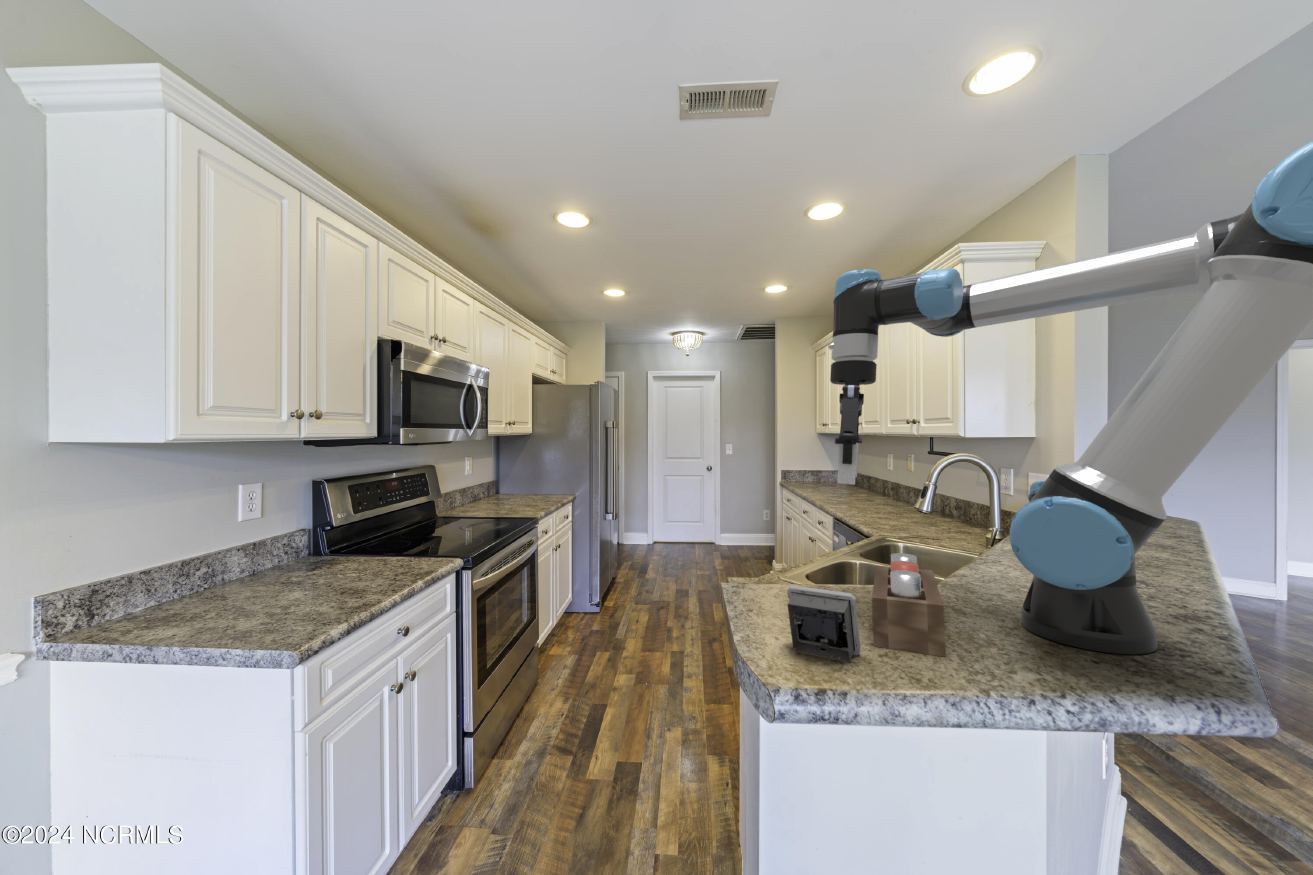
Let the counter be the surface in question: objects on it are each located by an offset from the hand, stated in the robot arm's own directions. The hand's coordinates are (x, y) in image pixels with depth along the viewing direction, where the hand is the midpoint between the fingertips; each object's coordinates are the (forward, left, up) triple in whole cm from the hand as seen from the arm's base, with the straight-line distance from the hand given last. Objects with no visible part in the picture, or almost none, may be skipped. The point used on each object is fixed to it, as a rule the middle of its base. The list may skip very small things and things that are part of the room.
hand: (847, 480), depth 84 cm
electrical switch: (-13, +16, -24) cm, 31 cm away
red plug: (-9, -3, -19) cm, 21 cm away
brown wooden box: (-9, -3, -23) cm, 25 cm away
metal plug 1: (-4, -8, -19) cm, 21 cm away
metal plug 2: (-14, +2, -19) cm, 24 cm away
